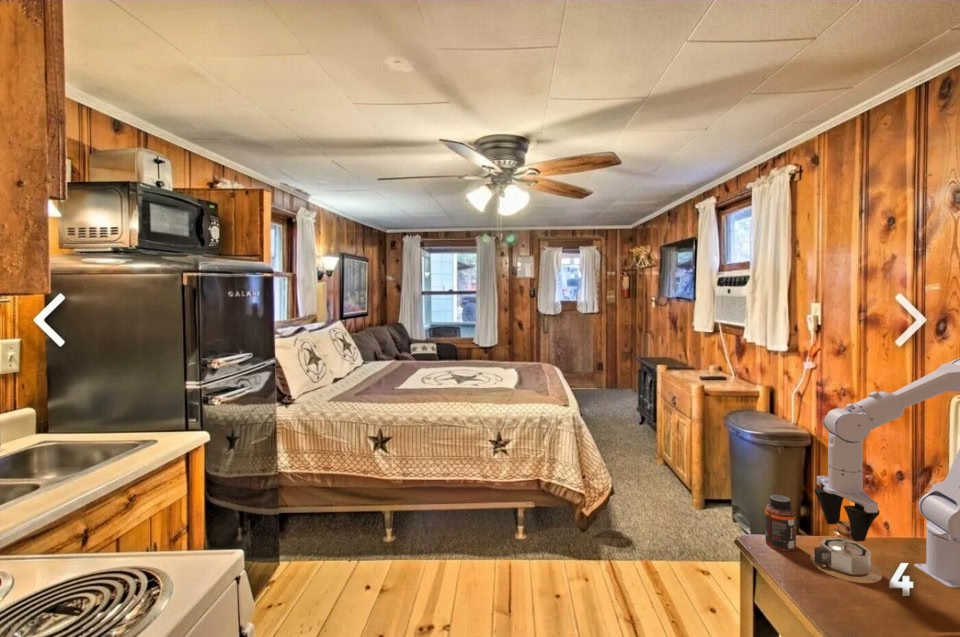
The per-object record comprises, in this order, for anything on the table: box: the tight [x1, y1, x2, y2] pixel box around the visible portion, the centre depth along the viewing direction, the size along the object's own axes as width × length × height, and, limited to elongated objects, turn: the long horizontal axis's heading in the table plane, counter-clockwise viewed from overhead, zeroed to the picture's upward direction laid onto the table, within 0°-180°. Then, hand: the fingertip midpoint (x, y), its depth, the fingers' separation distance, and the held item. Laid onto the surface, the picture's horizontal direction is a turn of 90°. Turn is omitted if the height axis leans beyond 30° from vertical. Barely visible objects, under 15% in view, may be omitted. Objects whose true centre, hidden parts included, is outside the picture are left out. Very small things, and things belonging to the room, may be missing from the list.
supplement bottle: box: [764, 494, 797, 553], centre depth 110 cm, size 6×6×11 cm
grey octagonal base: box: [809, 537, 883, 584], centre depth 101 cm, size 12×12×4 cm
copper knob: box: [828, 520, 863, 556], centre depth 101 cm, size 6×6×6 cm
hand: (845, 531), depth 100 cm, fingers open, 7 cm apart
